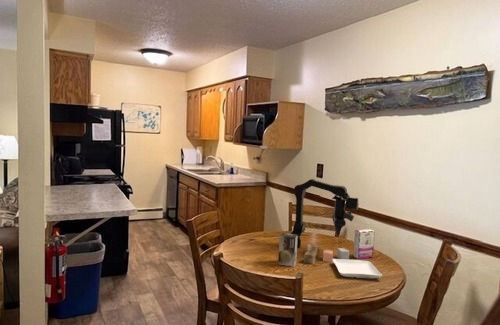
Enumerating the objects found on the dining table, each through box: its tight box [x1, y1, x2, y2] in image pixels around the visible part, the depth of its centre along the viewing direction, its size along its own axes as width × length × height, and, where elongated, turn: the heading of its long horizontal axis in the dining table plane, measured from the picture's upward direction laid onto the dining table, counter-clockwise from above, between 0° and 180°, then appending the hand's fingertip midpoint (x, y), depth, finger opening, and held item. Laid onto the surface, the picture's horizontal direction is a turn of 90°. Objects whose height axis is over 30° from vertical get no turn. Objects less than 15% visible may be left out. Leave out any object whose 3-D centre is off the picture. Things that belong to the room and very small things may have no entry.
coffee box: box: [277, 232, 298, 268], centre depth 189 cm, size 9×6×16 cm
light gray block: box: [336, 248, 351, 260], centre depth 204 cm, size 5×5×5 cm
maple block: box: [306, 243, 318, 256], centre depth 208 cm, size 5×5×5 cm
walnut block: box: [303, 251, 317, 265], centre depth 194 cm, size 5×5×5 cm
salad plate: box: [332, 258, 383, 279], centre depth 184 cm, size 21×21×3 cm
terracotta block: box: [322, 249, 334, 263], centre depth 199 cm, size 5×5×5 cm
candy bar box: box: [352, 228, 376, 260], centre depth 207 cm, size 11×5×16 cm, turn 112°
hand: (337, 233), depth 208 cm, fingers open, 9 cm apart
